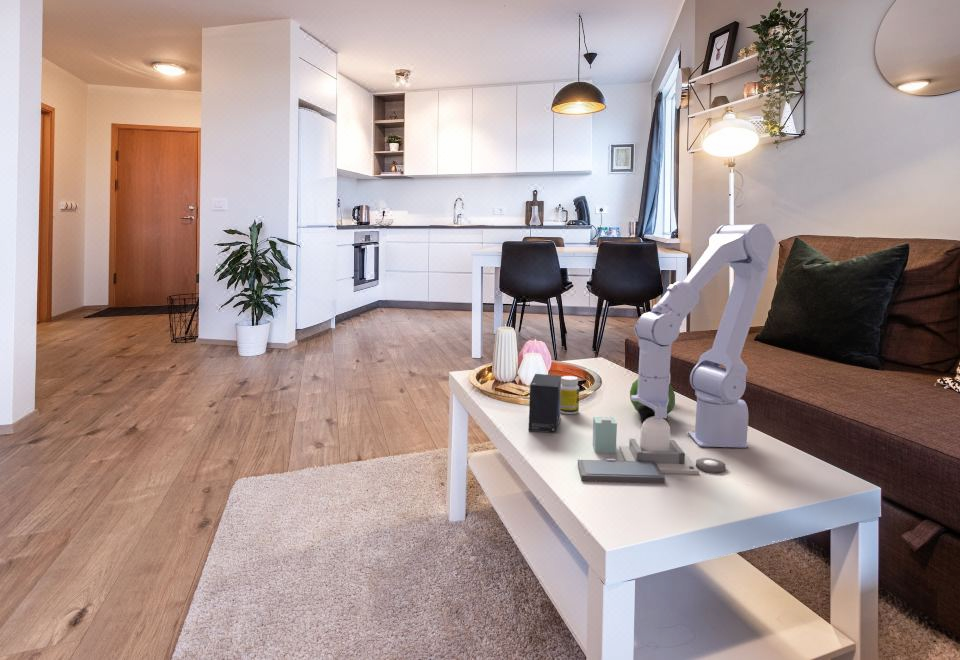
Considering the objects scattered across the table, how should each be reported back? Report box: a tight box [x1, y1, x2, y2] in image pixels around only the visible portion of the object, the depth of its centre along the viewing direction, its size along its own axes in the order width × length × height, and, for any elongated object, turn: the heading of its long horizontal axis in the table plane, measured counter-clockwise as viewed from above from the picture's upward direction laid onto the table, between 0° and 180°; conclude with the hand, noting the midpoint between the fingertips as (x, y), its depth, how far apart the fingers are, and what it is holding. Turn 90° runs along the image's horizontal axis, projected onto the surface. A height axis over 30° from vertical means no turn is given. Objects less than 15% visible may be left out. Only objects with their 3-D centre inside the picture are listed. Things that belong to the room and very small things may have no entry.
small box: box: [528, 373, 562, 434], centre depth 127 cm, size 11×6×10 cm, turn 168°
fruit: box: [629, 378, 676, 414], centre depth 134 cm, size 15×10×10 cm, turn 172°
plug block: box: [592, 416, 618, 454], centre depth 112 cm, size 4×4×7 cm
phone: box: [577, 458, 666, 484], centre depth 101 cm, size 14×7×1 cm, turn 86°
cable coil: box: [695, 457, 727, 474], centre depth 104 cm, size 5×5×1 cm
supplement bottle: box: [560, 375, 580, 415], centre depth 136 cm, size 5×5×8 cm
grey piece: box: [618, 438, 700, 475], centre depth 107 cm, size 12×12×2 cm
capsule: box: [639, 416, 671, 452], centre depth 108 cm, size 5×5×8 cm
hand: (650, 442), depth 112 cm, fingers closed
